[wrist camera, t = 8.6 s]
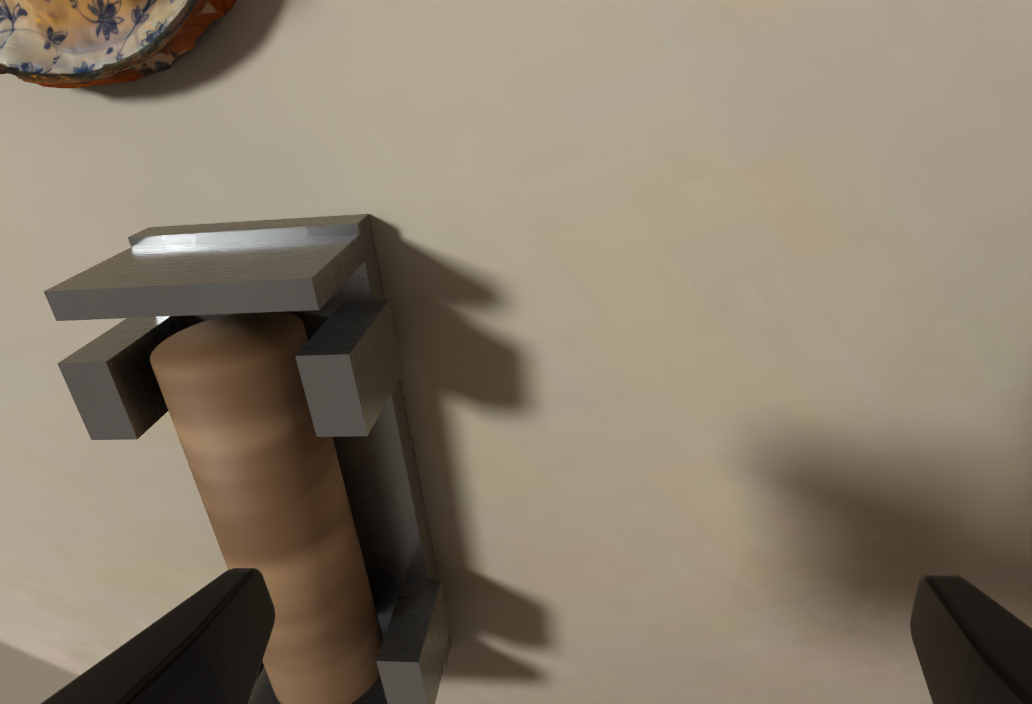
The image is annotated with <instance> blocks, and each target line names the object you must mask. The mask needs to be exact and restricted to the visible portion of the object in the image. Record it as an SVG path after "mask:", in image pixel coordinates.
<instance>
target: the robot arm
mask: <svg viewBox="0 0 1032 704" xmlns="http://www.w3.org/2000/svg"><path fill="white" fill-rule="evenodd" d="M274 622H275V608H274V604H273V602H272V599H271V596H270V593H269V591H268V588H267V585H266V583H265V580H264V577H263V575H262V573H261V572H260V571H259V570H258V569H255V568H233V569H230V570H228V571H226V572H224V573H223V574H222V575H220V576H219V577H217V578H216V579H215V580H213V581H212V582H210V583H209V584H208V585H206V586H205V587H203V588H202V589H201V590H199V591H198V592H196V593H195V594H194V595H192V596H191V597H189V598H188V599H187V600H185V601H184V602H182V603H181V604H180V605H178V606H177V607H175V608H174V609H173V610H171V611H170V612H168V613H167V614H166V615H164V616H163V617H161V618H160V619H159V620H157V621H156V622H154V623H153V624H152V625H150V626H149V627H147V628H146V629H145V630H143V631H142V632H140V633H139V634H138V635H136V636H135V637H133V638H132V639H131V640H129V641H128V642H126V643H125V644H124V645H122V646H121V647H119V648H118V649H117V650H115V651H114V652H112V653H111V654H110V655H108V656H107V657H105V658H104V659H103V660H101V661H100V662H98V663H97V664H96V665H94V666H93V667H91V668H90V669H89V670H87V671H86V672H84V673H83V674H82V675H80V676H79V677H77V678H76V679H75V680H73V681H72V682H70V683H69V684H68V685H66V686H65V687H63V688H62V689H61V690H59V691H58V692H56V693H55V694H54V695H52V696H51V697H49V698H48V699H47V700H45V701H44V702H42V703H41V704H249V700H250V697H251V694H252V691H253V688H254V685H255V682H256V679H257V676H258V673H259V670H260V667H261V664H262V660H263V657H264V654H265V651H266V648H267V645H268V642H269V639H270V636H271V633H272V630H273V627H274ZM910 629H911V635H912V640H913V643H914V646H915V649H916V652H917V655H918V659H919V662H920V665H921V668H922V671H923V674H924V677H925V680H926V683H927V687H928V690H929V693H930V696H931V699H932V702H933V704H1032V629H1031V628H1030V627H1029V626H1027V625H1026V624H1025V623H1023V622H1022V621H1021V620H1019V619H1018V618H1017V617H1015V616H1014V615H1013V614H1011V613H1010V612H1009V611H1007V610H1006V609H1004V608H1003V607H1002V606H1000V605H999V604H998V603H996V602H995V601H994V600H992V599H991V598H990V597H988V596H987V595H986V594H984V593H983V592H982V591H980V590H979V589H977V588H976V587H975V586H973V585H972V584H971V583H969V582H968V581H967V580H965V579H964V578H962V577H960V576H958V575H954V574H925V575H923V576H921V578H920V579H919V582H918V585H917V590H916V595H915V600H914V605H913V609H912V614H911V620H910Z"/></svg>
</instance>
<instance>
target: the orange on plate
mask: <svg viewBox="0 0 1032 704" xmlns="http://www.w3.org/2000/svg"><path fill="white" fill-rule="evenodd" d="M235 1H236V0H0V74H5V73H9V74H13V75H15V76H17V77H18V78H19V79H22V80H23V81H25V82H30V83H35V84H39V85H41V86H44V87H55V88H77V87H85V86H94V85H103V84H111V83H120V82H130V81H135V80H138V79H141V78H142V77H144V76H147V75H148V74H152V73H155V72H158V71H161V70H165V69H168V68H170V67H171V64H172V62H173V60H174V59H176V58H178V57H179V56H180V55H181V54H183V53H185V52H186V51H188V50H190V49H192V48H194V47H195V40H196V39H197V38H198V37H199V36H200V35H201V34H202V33H203V32H204V31H206V29H207V28H208V27H209V25H210V24H211V23H212V22H213V21H214V20H216V19H217V18H220V17H222V16H223V15H225V14H226V13H227V12H228V11H229V10H230V9H231V8H232V7H233V5H234V3H235Z"/></svg>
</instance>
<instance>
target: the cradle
mask: <svg viewBox="0 0 1032 704" xmlns="http://www.w3.org/2000/svg"><path fill="white" fill-rule="evenodd" d="M128 239H129V242H130V244H131V248H129V249H127V250H125V251H123V252H121V253H119V254H117V255H115V256H113V257H111V258H109V259H107V260H105V261H103V262H101V263H99V264H97V265H95V266H93V267H91V268H89V269H87V270H85V271H83V272H81V273H79V274H77V275H75V276H73V277H71V278H69V279H68V280H66V281H64V282H62V283H60V284H58V285H56V286H54V287H52V288H50V289H48V290H46V291H44V293H45V295H46V298H47V300H48V302H49V305H50V307H51V309H52V312H53V314H54V316H55V319H56V321H66V320H90V319H114V318H127V319H125V320H124V321H122V322H121V323H119V324H118V325H116V326H115V327H113V328H111V329H110V330H108V331H107V332H105V333H104V334H102V335H101V336H99V337H98V338H96V339H94V340H93V341H91V342H90V343H88V344H87V345H85V346H84V347H82V348H81V349H79V350H77V351H76V352H74V353H73V354H71V355H70V356H68V357H67V358H65V359H64V360H62V361H60V362H59V363H58V366H59V368H60V370H61V372H62V375H63V377H64V379H65V381H66V384H67V386H68V388H69V390H70V393H71V395H72V397H73V399H74V402H75V404H76V406H77V408H78V411H79V413H80V415H81V417H82V420H83V422H84V424H85V426H86V429H87V431H88V433H89V435H90V438H91V440H117V439H138V438H139V437H140V436H141V435H143V434H144V433H145V432H146V431H147V430H148V429H149V428H150V427H151V426H152V425H153V424H154V423H156V422H157V421H158V420H159V419H160V418H161V417H162V416H163V415H164V414H165V413H166V412H167V411H169V410H168V408H167V405H166V402H165V400H164V397H163V394H162V392H161V389H160V386H159V384H158V381H157V378H156V376H155V373H154V370H153V368H152V365H151V362H150V356H151V353H152V352H153V350H154V349H155V348H156V347H157V346H158V345H159V344H160V343H162V342H163V341H164V340H166V339H167V338H169V337H170V336H172V335H174V334H176V333H178V332H180V331H182V330H184V329H186V328H188V327H191V326H193V325H196V324H198V323H201V322H204V321H207V320H211V319H214V318H218V317H222V316H226V315H230V314H235V313H259V312H283V311H284V312H288V313H292V314H295V315H296V316H298V317H300V318H301V319H302V321H303V323H304V327H305V331H306V335H307V339H308V342H307V343H306V344H305V345H304V347H303V348H302V349H301V350H300V351H299V352H298V353H297V354H296V356H295V357H296V361H297V365H298V368H299V372H300V376H301V380H302V383H303V387H304V391H305V395H306V399H307V402H308V406H309V410H310V414H311V417H312V421H313V425H314V429H315V432H316V436H317V437H332V438H333V442H334V446H335V450H336V454H337V458H338V462H339V466H340V469H341V473H342V477H343V481H344V485H345V489H346V493H347V497H348V501H349V505H350V509H351V513H352V517H353V521H354V525H355V529H356V533H357V537H358V541H359V544H360V548H361V552H362V556H363V560H364V564H365V568H366V572H367V576H368V580H369V584H370V588H371V592H372V596H373V600H374V604H375V608H376V612H377V616H378V620H379V623H380V627H381V631H382V635H383V639H384V640H383V643H382V646H381V649H380V651H379V654H378V657H377V660H376V662H377V666H378V670H379V673H380V674H379V676H378V678H377V679H376V681H375V682H374V684H373V685H372V686H371V687H370V688H369V689H368V691H367V692H365V693H364V694H363V695H362V696H361V697H360V698H358V699H357V700H356V701H354V702H353V703H351V704H435V701H436V697H437V693H438V689H439V685H440V680H441V676H442V672H443V668H444V667H446V665H447V661H448V656H449V652H450V648H451V644H450V639H449V630H450V621H449V616H448V611H447V606H446V600H445V595H444V590H443V584H442V580H438V576H437V571H436V566H435V560H434V555H433V550H432V545H431V540H430V534H429V529H428V524H427V519H426V513H425V508H424V503H423V498H422V492H421V487H420V482H419V477H418V471H417V466H416V461H415V456H414V451H413V445H412V440H411V435H410V430H409V424H408V419H407V414H406V409H405V403H404V398H403V393H402V388H401V383H400V376H401V374H402V372H403V371H402V366H401V361H400V356H399V350H398V345H397V340H396V334H395V329H394V324H393V318H392V313H391V308H390V302H389V300H385V299H384V294H383V288H382V283H381V278H380V273H379V267H378V262H377V257H376V252H375V246H374V241H373V236H372V231H371V226H370V220H369V215H368V214H361V215H345V216H329V217H313V218H297V219H281V220H264V221H248V222H232V223H216V224H200V225H184V226H168V227H152V228H147V229H145V230H143V231H141V232H138V233H136V234H134V235H132V236H130V237H128ZM249 704H281V703H280V702H279V701H278V699H277V698H276V695H275V693H274V690H273V688H272V685H271V682H270V680H269V677H268V674H267V672H266V669H265V666H264V664H263V661H262V664H261V667H260V670H259V673H258V676H257V679H256V682H255V685H254V688H253V691H252V694H251V697H250V700H249Z"/></svg>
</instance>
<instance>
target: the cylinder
mask: <svg viewBox="0 0 1032 704" xmlns="http://www.w3.org/2000/svg"><path fill="white" fill-rule="evenodd" d="M307 342H308V339H307V335H306V331H305V327H304V323H303V321H302V319H301V318H300V317H298V316H296V315H295V314H292V313H288V312H284V311H283V312H259V313H235V314H230V315H226V316H222V317H218V318H214V319H211V320H207V321H204V322H201V323H198V324H196V325H193V326H191V327H188V328H186V329H184V330H182V331H180V332H178V333H176V334H174V335H172V336H170V337H169V338H167V339H166V340H164V341H163V342H162V343H160V344H159V345H158V346H157V347H156V348H155V349H154V350H153V352H152V353H151V356H150V362H151V365H152V368H153V370H154V373H155V376H156V378H157V381H158V384H159V386H160V389H161V392H162V394H163V397H164V400H165V402H166V405H167V408H168V410H169V413H170V416H171V418H172V421H173V424H174V426H175V429H176V432H177V434H178V437H179V440H180V442H181V445H182V448H183V450H184V453H185V456H186V458H187V461H188V464H189V466H190V469H191V472H192V474H193V477H194V480H195V482H196V485H197V488H198V490H199V493H200V496H201V498H202V501H203V504H204V506H205V509H206V512H207V514H208V517H209V520H210V522H211V525H212V528H213V530H214V533H215V536H216V538H217V541H218V544H219V546H220V549H221V552H222V554H223V557H224V560H225V562H226V565H227V568H228V570H230V569H233V568H255V569H258V570H259V571H260V572H261V573H262V575H263V577H264V580H265V583H266V585H267V588H268V591H269V593H270V596H271V599H272V602H273V604H274V608H275V622H274V627H273V630H272V633H271V636H270V639H269V642H268V645H267V648H266V651H265V654H264V657H263V660H262V661H263V664H264V666H265V669H266V672H267V674H268V677H269V680H270V682H271V685H272V688H273V690H274V693H275V695H276V698H277V699H278V701H279V702H280V703H281V704H351V703H353V702H354V701H356V700H357V699H358V698H360V697H361V696H362V695H363V694H364V693H365V692H367V691H368V689H369V688H370V687H371V686H372V685H373V684H374V682H375V681H376V679H377V678H378V676H379V674H380V673H379V670H378V666H377V662H376V660H377V657H378V654H379V651H380V649H381V646H382V643H383V640H384V639H383V635H382V631H381V627H380V623H379V620H378V616H377V612H376V608H375V604H374V600H373V596H372V592H371V588H370V584H369V580H368V576H367V572H366V568H365V564H364V560H363V556H362V552H361V548H360V544H359V541H358V537H357V533H356V529H355V525H354V521H353V517H352V513H351V509H350V505H349V501H348V497H347V493H346V489H345V485H344V481H343V477H342V473H341V469H340V466H339V462H338V458H337V454H336V450H335V446H334V442H333V438H332V437H317V436H316V432H315V429H314V425H313V421H312V417H311V414H310V410H309V406H308V402H307V399H306V395H305V391H304V387H303V383H302V380H301V376H300V372H299V368H298V365H297V361H296V357H295V356H296V354H297V353H298V352H299V351H300V350H301V349H302V348H303V347H304V345H305V344H306V343H307Z"/></svg>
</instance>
